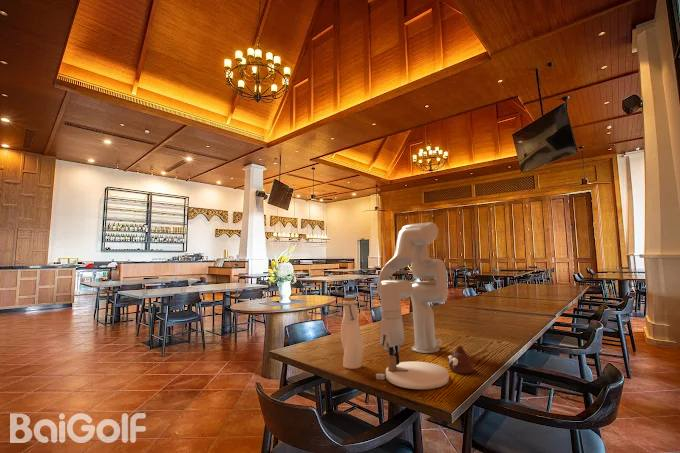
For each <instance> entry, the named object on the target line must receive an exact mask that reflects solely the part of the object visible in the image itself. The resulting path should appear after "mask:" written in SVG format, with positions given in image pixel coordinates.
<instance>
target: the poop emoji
mask: <svg viewBox="0 0 680 453" xmlns="http://www.w3.org/2000/svg"><path fill="white" fill-rule="evenodd" d="M447 362H448V366H449V369H450V370H452V371H453V372H455V373H456V374H460V375H471V374H473V373H474V370H475V368H474V365H473V363H472V361H471V359H470V357H469V355H468V353H467V352H466V351H465V349H464V348H463V345H459V346H456V348H455V349H454V352H453V353H452V355H451V354H450V355H448V356H447Z"/></svg>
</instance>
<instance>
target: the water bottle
mask: <svg viewBox="0 0 680 453" xmlns="http://www.w3.org/2000/svg"><path fill="white" fill-rule="evenodd" d="M342 301H343V302H342V303H341V305H342V307H343V310H342V311H343V317H342V321H341V325H340V340H341V345H342V346H341V347H342V349H343V351H344V353H343V360H342V362H343V363H342V367H343V368H345V369H348V370H349V369H351V370H352V369H358V368H359V369H360V368H361V367H362V365H363V363H362V360H363V356H364V343H363V336H362V331H361V328H360V322H359V319H360V318H359V311H358V305H359V302H358V301H357V299H356V296H353V295H352V296H351V295H350V296H344V297H343V300H342Z"/></svg>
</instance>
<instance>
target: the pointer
mask: <svg viewBox="0 0 680 453" xmlns="http://www.w3.org/2000/svg"><path fill="white" fill-rule="evenodd" d="M375 377H376V378H375V380H385V379H386V374H385V373H375Z"/></svg>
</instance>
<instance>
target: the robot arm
mask: <svg viewBox="0 0 680 453" xmlns="http://www.w3.org/2000/svg"><path fill="white" fill-rule="evenodd" d="M438 236H439V229H438V226H437V224H436V223H434V222H432V221H429V222H428V221H427V222H419V223H410V224H409V223H408V224H405V225H402V227H401V229H400V230H399V231H398V233H397V238H396V243H395V248H394V254H393V256H392V258H390V259H389V260H388V261H387V262H386V263H385V265H383V267H382V269H380V272H379V275H378V280H377V286H376V287H377V288H376V290H377V294H378V296H379V297H380V303H381V305H380V306H381V307H380V308H381V320H380V327H379V342H380V343H379V344H380V346H383V350H384V351H386V352H387V353H388V354H389V355H395V356H396V365H398V364H399V363H400V355H399V354H400V350H401V349H400V348H401V346H403V345H404V342H405V329H404V328H405V327H404V323H403V322H404V321H403V316H402V302H401V301H402V299H404V300H405V299H409V298H410V300H411V306H412V319H413V334H414V335H413V336H414V345H412V346H411V350H412V351H413V352H415V353H421V354H433V353H437V352H439V351H440V347H439V346H438V344H441V343H442V342H443V340H442V338H436V332H435V331H436V330H435V319H434V318H435V317H434V316H435V315H434V311H433V309H432V307H431V305H430V304H429V303H434V304H435V303H436V304H437V303H438V304H441V303H445V302H446V301H447V299H448V282H447V281H448V280H447V278H448V277H447V268H446V264H445V262H444V260H442V259H439V258H430V254H429V248H428V245H431V244H432V243H433V242H434V241H435V240H436V239H437V237H438ZM408 266H411V274H412V276H413V278H414V279H416V280H417V279H418V280H434V281H417V282H413V283H411V281H409V280H407V279H390V278H391V276H392V275H394V273H396V272H398V271H399V270H402V269H404V268H406V267H408ZM389 355H388V356H389Z"/></svg>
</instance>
